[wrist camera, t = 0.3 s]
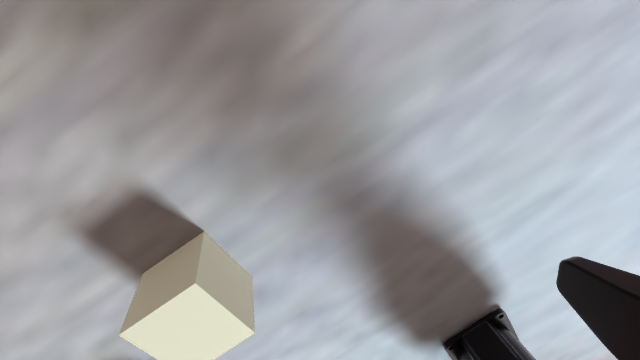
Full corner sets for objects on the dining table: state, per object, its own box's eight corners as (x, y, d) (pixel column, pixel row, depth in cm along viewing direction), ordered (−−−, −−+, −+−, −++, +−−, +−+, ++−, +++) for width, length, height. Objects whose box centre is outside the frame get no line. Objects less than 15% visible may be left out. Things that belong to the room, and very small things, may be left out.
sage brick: (252, 276, 24) (254, 332, 19) (195, 313, 24) (186, 377, 20) (204, 230, 22) (195, 283, 17) (143, 272, 22) (118, 335, 17)
